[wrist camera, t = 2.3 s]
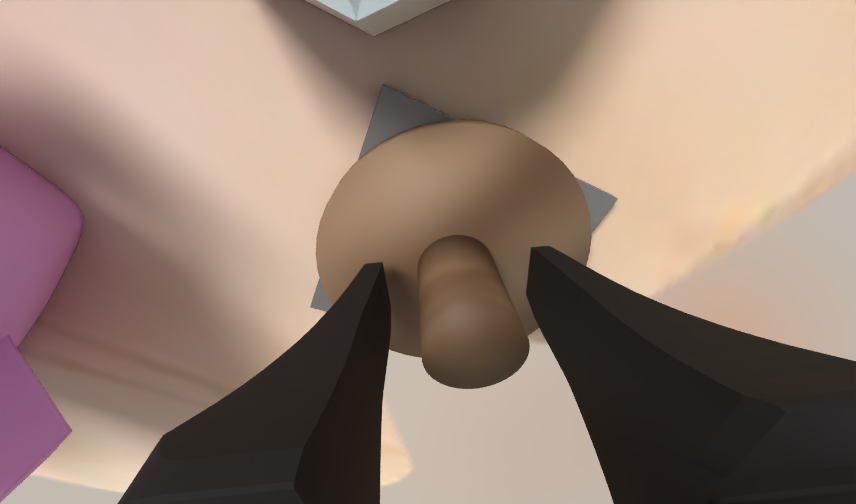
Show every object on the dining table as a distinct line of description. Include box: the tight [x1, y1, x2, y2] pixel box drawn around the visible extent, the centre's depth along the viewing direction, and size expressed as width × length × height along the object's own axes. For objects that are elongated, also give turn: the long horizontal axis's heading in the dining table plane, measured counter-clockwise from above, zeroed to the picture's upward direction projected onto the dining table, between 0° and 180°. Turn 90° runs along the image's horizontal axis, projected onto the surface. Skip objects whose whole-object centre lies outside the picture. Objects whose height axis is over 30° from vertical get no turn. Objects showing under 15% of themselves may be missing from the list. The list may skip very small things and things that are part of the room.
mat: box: [310, 84, 617, 312], centre depth 12 cm, size 9×9×1 cm
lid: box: [316, 120, 591, 389], centre depth 10 cm, size 10×10×5 cm
